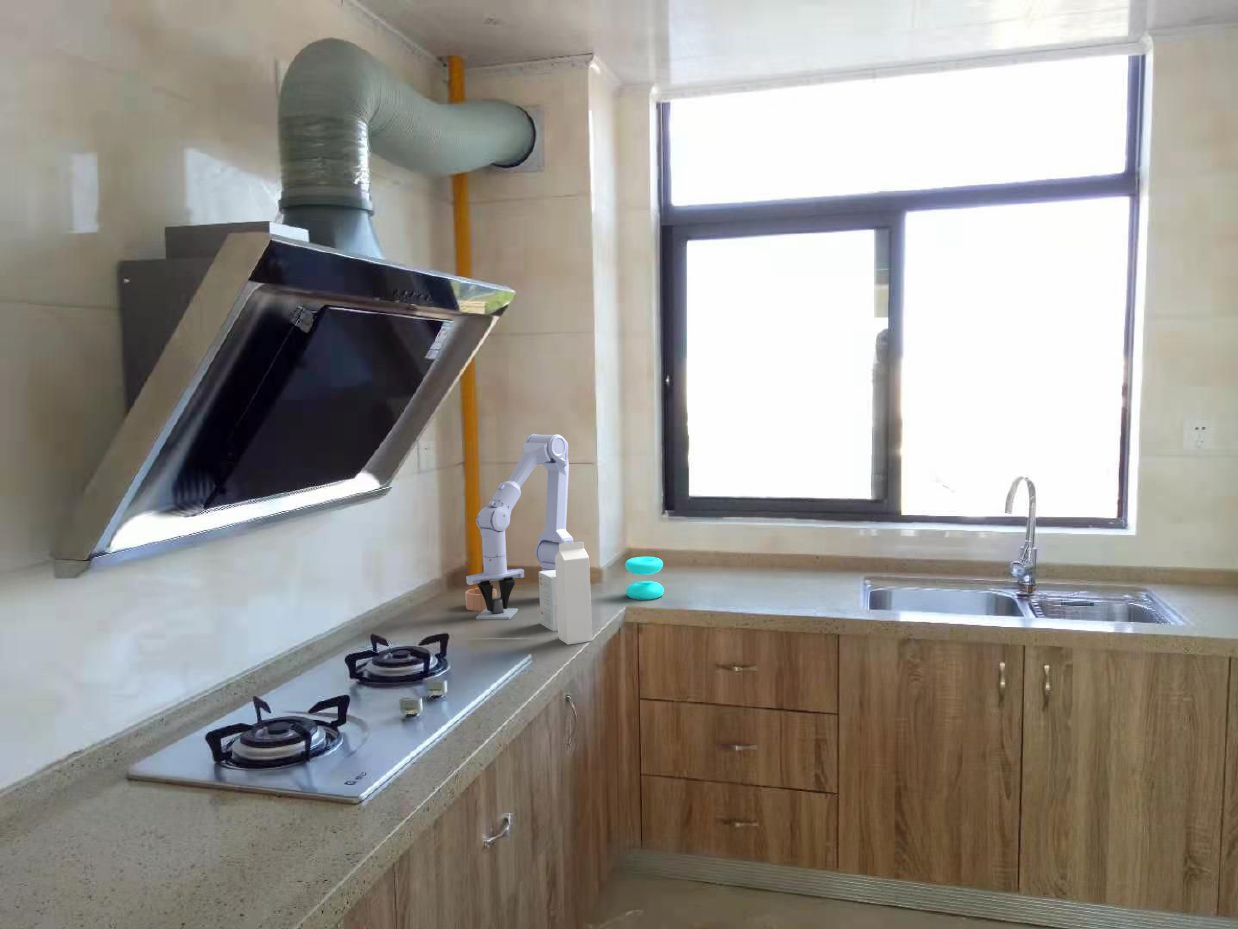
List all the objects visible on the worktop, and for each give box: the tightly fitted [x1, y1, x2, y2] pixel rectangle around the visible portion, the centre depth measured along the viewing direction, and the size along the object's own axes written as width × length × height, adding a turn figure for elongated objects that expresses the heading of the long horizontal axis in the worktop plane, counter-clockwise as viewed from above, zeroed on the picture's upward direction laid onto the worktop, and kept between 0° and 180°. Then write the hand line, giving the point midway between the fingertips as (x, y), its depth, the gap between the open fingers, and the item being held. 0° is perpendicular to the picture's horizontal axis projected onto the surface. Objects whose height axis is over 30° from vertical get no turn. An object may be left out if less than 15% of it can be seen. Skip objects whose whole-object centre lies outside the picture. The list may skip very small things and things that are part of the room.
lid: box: [475, 596, 519, 619], centre depth 235 cm, size 8×8×4 cm
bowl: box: [464, 587, 498, 612], centre depth 245 cm, size 8×8×4 cm
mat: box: [474, 610, 520, 621], centre depth 235 cm, size 9×9×1 cm
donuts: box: [624, 556, 665, 601], centre depth 251 cm, size 10×10×10 cm
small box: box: [538, 570, 558, 632], centre depth 223 cm, size 8×6×13 cm
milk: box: [555, 541, 593, 645], centre depth 211 cm, size 6×6×22 cm
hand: (497, 609), depth 235 cm, fingers closed on lid, 3 cm apart
